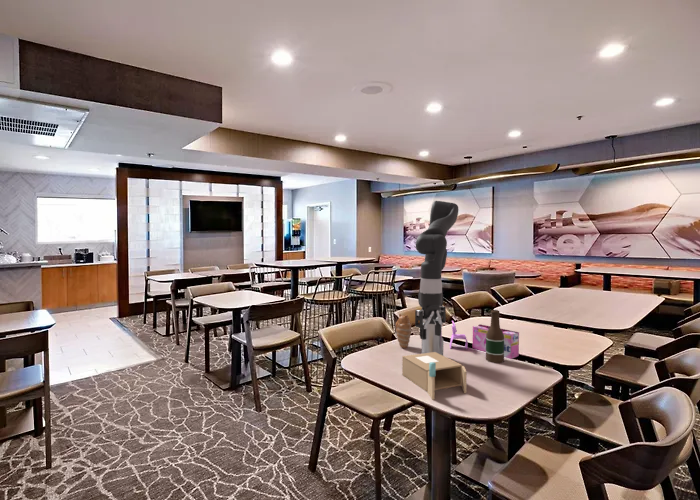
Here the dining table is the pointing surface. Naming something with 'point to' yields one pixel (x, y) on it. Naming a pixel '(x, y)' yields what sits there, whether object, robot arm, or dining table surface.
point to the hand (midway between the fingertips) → (430, 337)
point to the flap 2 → (464, 379)
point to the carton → (419, 367)
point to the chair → (457, 335)
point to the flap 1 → (431, 380)
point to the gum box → (509, 340)
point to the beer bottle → (495, 340)
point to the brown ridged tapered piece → (403, 330)
